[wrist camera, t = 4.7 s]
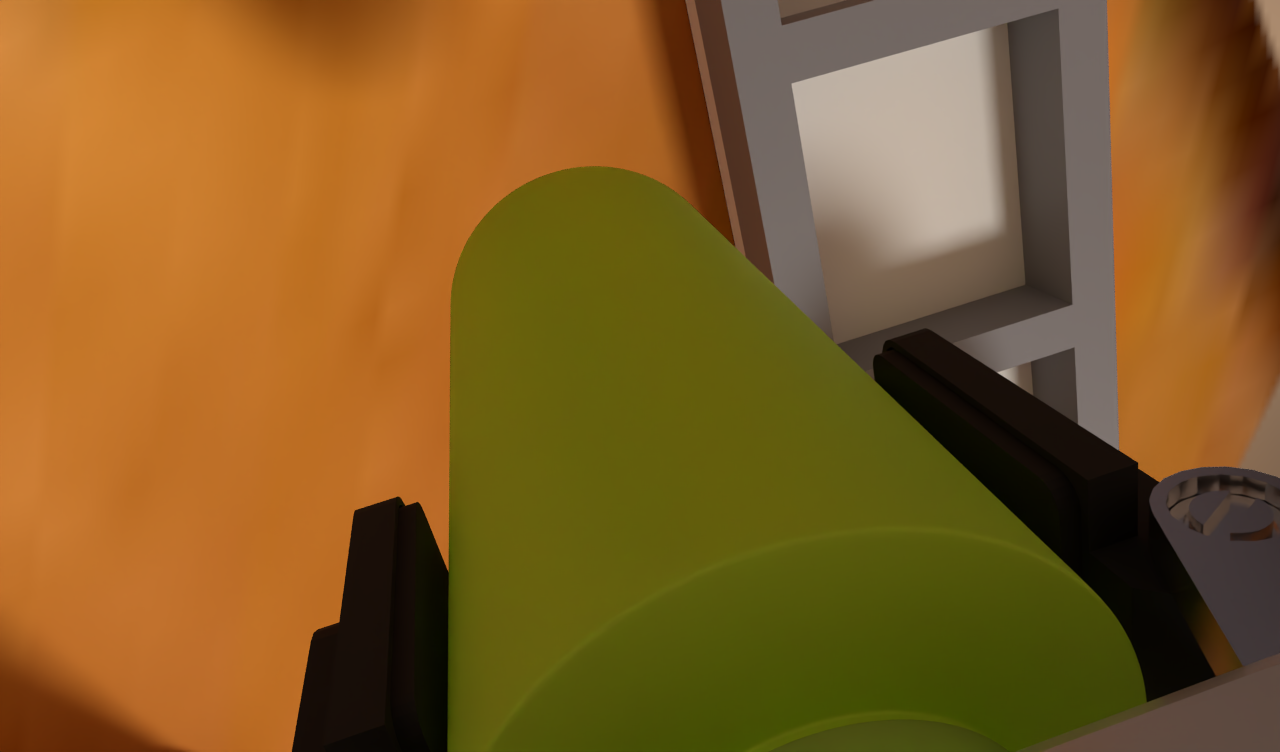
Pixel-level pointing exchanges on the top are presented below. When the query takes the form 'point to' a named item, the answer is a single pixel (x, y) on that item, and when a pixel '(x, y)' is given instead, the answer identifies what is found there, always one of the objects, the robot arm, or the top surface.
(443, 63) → the top surface
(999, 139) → the rail
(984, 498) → the soap dispenser
